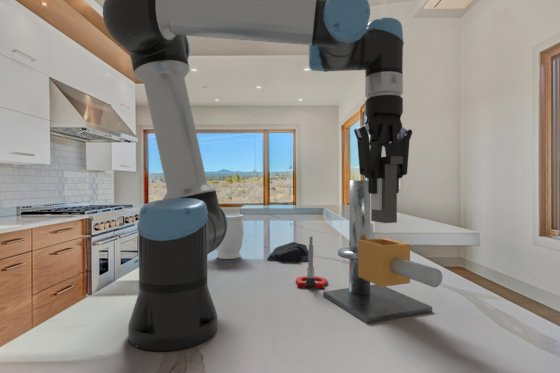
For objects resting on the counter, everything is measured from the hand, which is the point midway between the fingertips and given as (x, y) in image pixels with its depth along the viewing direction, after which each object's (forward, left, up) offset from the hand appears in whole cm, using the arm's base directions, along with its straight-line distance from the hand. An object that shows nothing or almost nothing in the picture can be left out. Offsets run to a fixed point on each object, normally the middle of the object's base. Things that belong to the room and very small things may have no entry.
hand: (383, 209), depth 73 cm
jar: (-19, +61, -21) cm, 67 cm away
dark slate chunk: (+2, +55, -22) cm, 59 cm away
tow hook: (-6, +22, -21) cm, 31 cm away
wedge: (0, 0, -3) cm, 3 cm away
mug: (+25, +41, -21) cm, 52 cm away
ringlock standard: (0, +5, -21) cm, 21 cm away
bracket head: (0, -5, -15) cm, 16 cm away
